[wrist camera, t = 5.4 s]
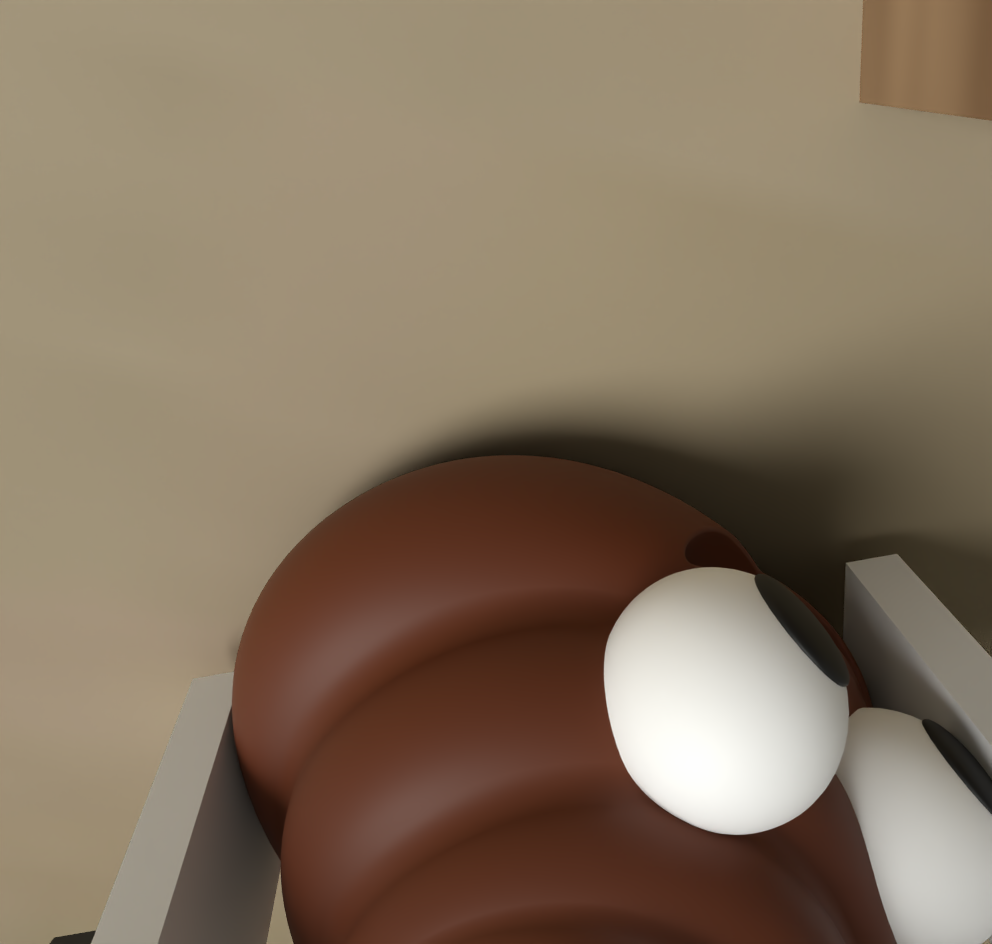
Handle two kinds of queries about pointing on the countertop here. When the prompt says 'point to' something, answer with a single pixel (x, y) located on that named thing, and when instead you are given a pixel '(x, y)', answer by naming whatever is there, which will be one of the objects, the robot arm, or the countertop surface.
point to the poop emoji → (584, 733)
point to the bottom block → (928, 56)
